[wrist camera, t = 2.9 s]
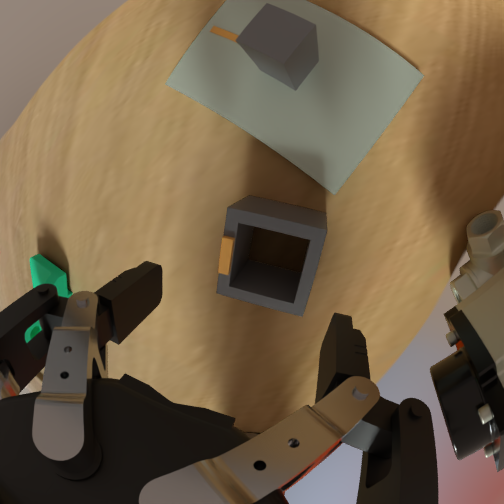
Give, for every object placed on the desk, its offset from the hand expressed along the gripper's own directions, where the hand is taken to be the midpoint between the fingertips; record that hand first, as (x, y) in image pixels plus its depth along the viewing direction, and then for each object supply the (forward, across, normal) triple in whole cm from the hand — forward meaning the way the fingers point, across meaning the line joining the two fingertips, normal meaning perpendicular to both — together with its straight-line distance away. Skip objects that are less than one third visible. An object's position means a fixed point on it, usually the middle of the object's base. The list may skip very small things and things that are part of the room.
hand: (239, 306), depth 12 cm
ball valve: (+11, -18, -3) cm, 22 cm away
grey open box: (+10, 0, 0) cm, 10 cm away
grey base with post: (+11, +1, -13) cm, 17 cm away
